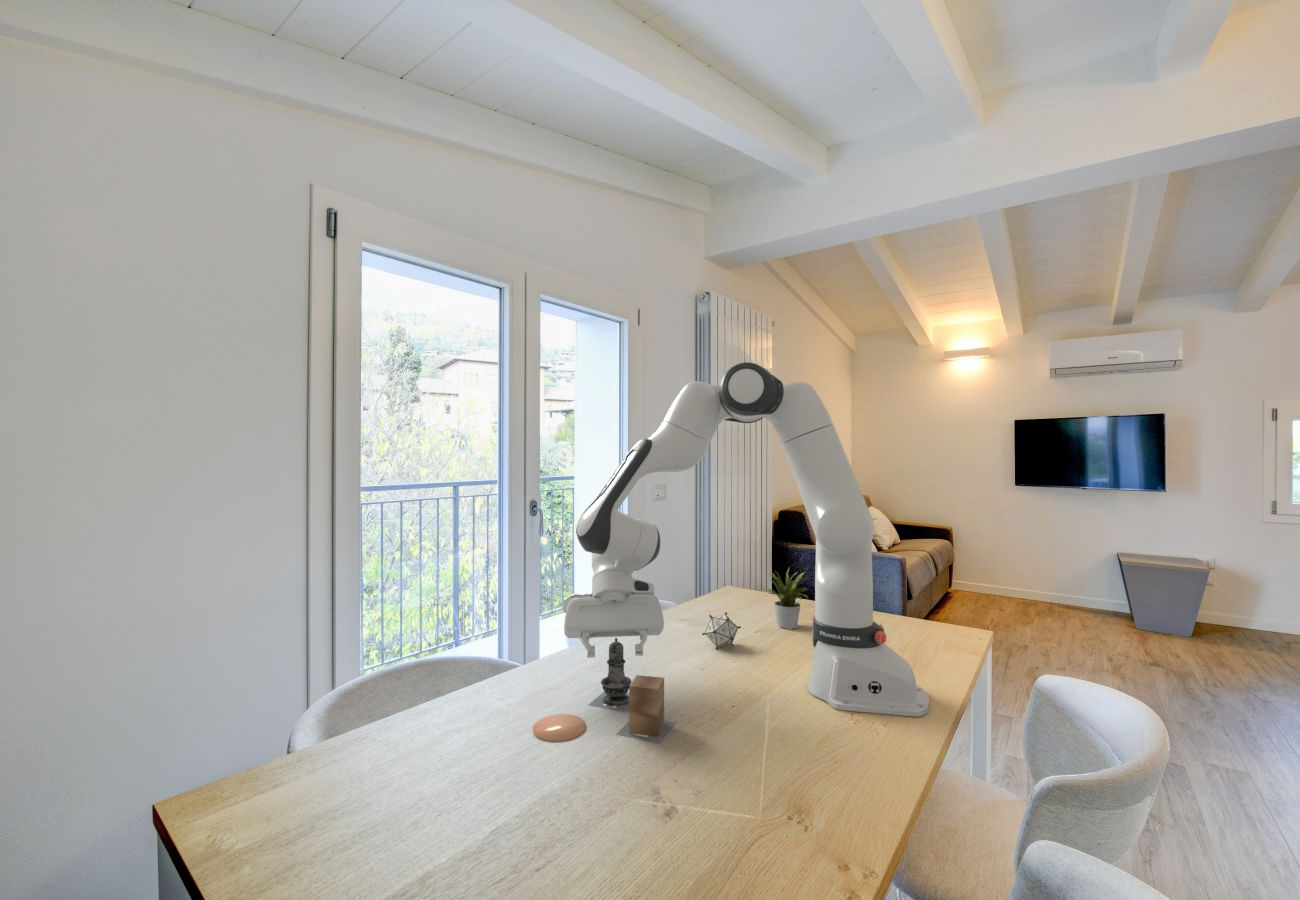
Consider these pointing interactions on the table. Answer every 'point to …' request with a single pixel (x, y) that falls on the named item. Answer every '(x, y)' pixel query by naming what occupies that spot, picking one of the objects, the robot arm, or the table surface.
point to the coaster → (559, 727)
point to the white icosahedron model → (721, 630)
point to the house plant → (787, 601)
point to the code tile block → (664, 731)
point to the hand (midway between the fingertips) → (615, 655)
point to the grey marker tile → (599, 703)
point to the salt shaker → (616, 677)
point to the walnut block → (646, 705)
